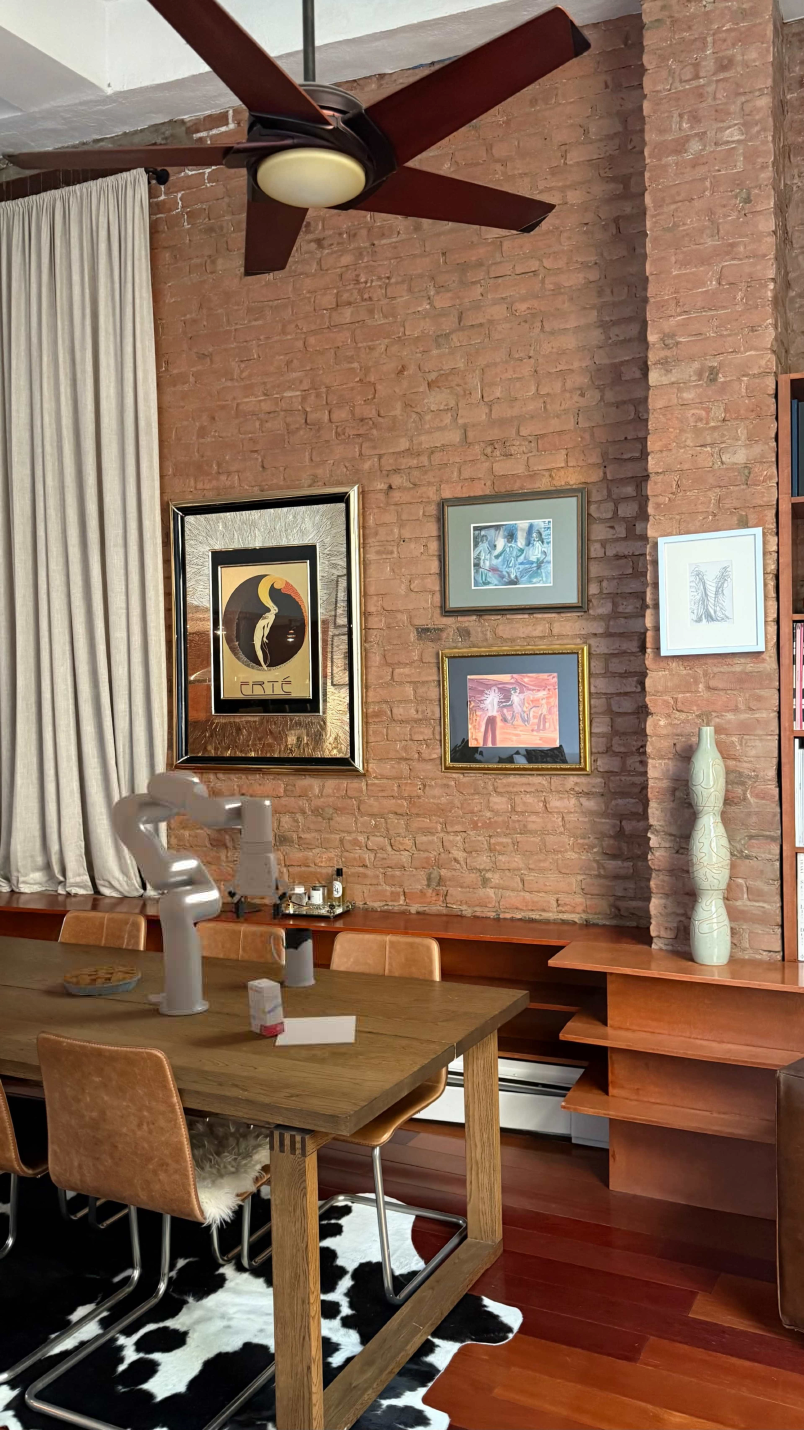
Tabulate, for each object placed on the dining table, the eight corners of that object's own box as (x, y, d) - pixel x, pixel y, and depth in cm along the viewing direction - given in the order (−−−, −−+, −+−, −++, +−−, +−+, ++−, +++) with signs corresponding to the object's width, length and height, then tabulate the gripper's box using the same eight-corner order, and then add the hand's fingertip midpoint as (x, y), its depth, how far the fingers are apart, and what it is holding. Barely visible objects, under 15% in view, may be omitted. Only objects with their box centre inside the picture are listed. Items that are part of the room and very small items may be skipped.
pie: (138, 976, 325) (138, 959, 325) (145, 993, 304) (144, 975, 304) (61, 983, 318) (61, 966, 318) (63, 1001, 297) (62, 983, 297)
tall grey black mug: (302, 988, 303) (301, 934, 303) (262, 983, 311) (261, 930, 311) (321, 981, 311) (319, 928, 311) (281, 976, 318) (280, 925, 318)
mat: (275, 1046, 250) (275, 1044, 250) (283, 1019, 272) (283, 1018, 272) (354, 1043, 250) (354, 1041, 250) (355, 1017, 272) (355, 1015, 272)
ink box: (285, 1033, 258) (281, 983, 258) (266, 1038, 256) (262, 987, 256) (269, 1026, 266) (265, 977, 266) (250, 1030, 263) (246, 981, 263)
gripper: (217, 850, 266) (219, 920, 266) (284, 851, 262) (286, 922, 262) (230, 846, 274) (231, 914, 274) (295, 847, 269) (297, 916, 269)
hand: (258, 918), depth 268 cm, fingers open, 9 cm apart
